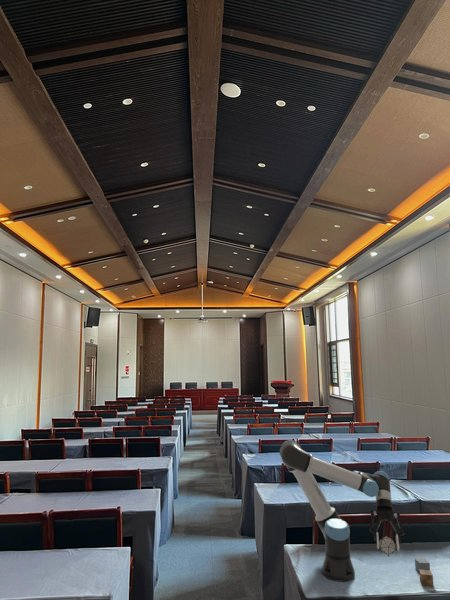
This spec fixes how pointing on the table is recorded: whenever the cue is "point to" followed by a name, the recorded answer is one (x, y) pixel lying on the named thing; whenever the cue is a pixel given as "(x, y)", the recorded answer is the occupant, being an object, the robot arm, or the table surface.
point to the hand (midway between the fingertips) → (388, 548)
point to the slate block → (421, 564)
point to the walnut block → (426, 578)
